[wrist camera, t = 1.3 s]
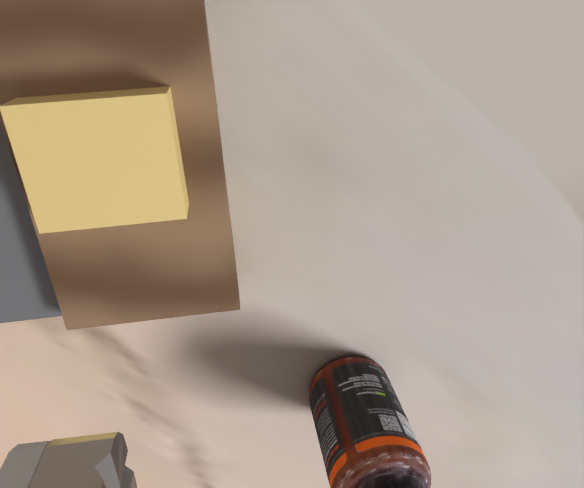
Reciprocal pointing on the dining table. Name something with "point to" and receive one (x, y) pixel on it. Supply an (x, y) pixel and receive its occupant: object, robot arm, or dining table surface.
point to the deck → (192, 138)
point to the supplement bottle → (364, 428)
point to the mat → (20, 253)
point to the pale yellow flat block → (98, 158)
